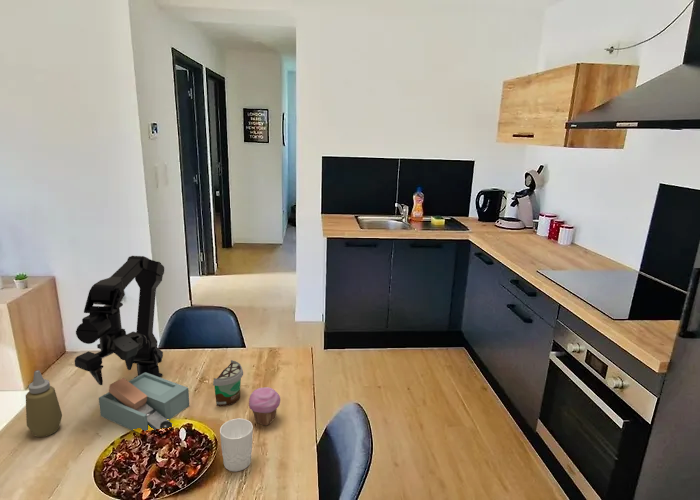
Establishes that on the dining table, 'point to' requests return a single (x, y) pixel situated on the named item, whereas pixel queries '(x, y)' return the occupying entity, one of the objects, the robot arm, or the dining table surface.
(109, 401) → the jig
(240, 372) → the food container
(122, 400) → the salmon orange rectangular block
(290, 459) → the dining table surface
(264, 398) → the cupcake
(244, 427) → the white cup
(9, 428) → the dining table surface
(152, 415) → the lever
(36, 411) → the squeeze bottle
